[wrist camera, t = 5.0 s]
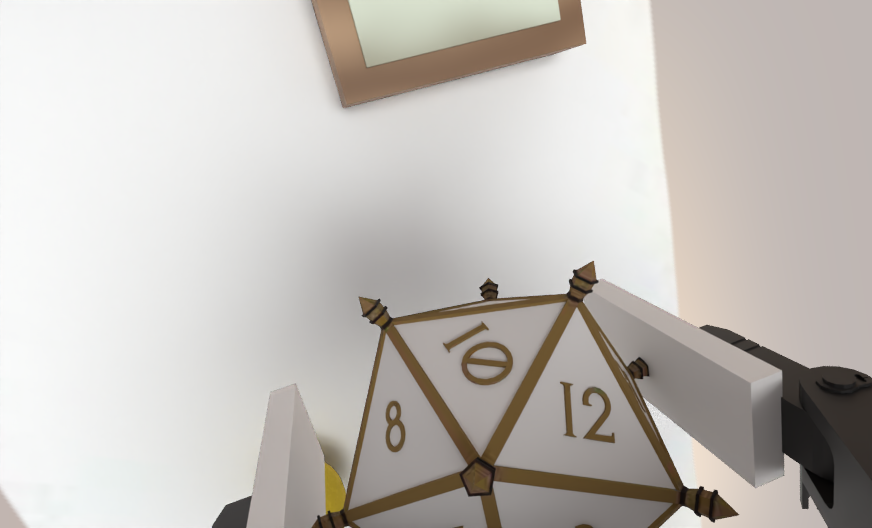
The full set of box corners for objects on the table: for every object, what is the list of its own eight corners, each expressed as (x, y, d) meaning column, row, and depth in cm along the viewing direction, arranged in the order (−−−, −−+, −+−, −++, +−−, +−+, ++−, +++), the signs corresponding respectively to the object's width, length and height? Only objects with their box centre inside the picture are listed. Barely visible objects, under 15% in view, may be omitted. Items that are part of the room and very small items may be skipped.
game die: (438, 367, 20) (440, 695, 13) (285, 252, 14) (163, 722, 8) (667, 300, 16) (819, 708, 10) (581, 109, 10) (812, 776, 4)
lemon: (355, 480, 36) (365, 572, 28) (284, 513, 35) (275, 616, 28) (325, 422, 34) (328, 504, 27) (250, 455, 33) (231, 549, 26)
